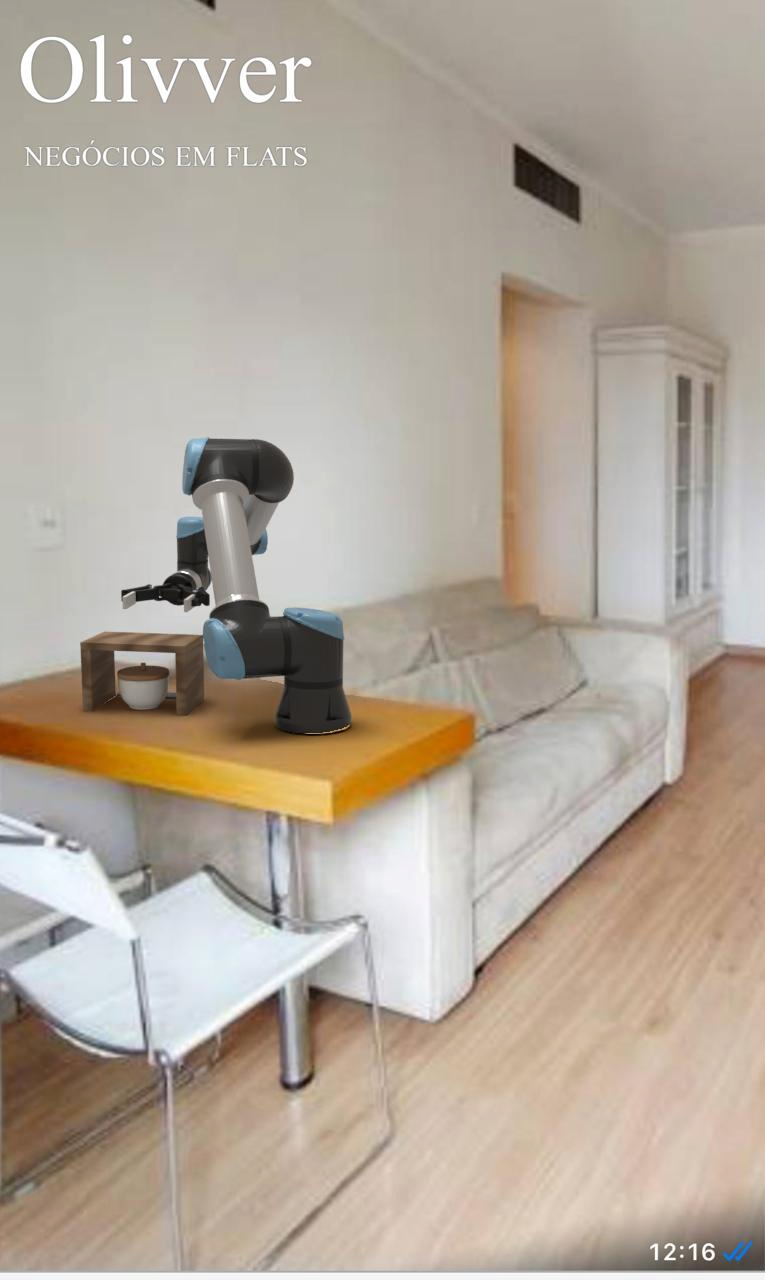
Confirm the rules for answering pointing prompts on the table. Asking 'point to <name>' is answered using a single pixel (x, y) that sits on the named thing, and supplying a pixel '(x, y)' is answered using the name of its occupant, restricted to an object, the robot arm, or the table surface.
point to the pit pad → (168, 696)
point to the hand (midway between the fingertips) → (154, 604)
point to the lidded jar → (143, 686)
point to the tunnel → (102, 646)
